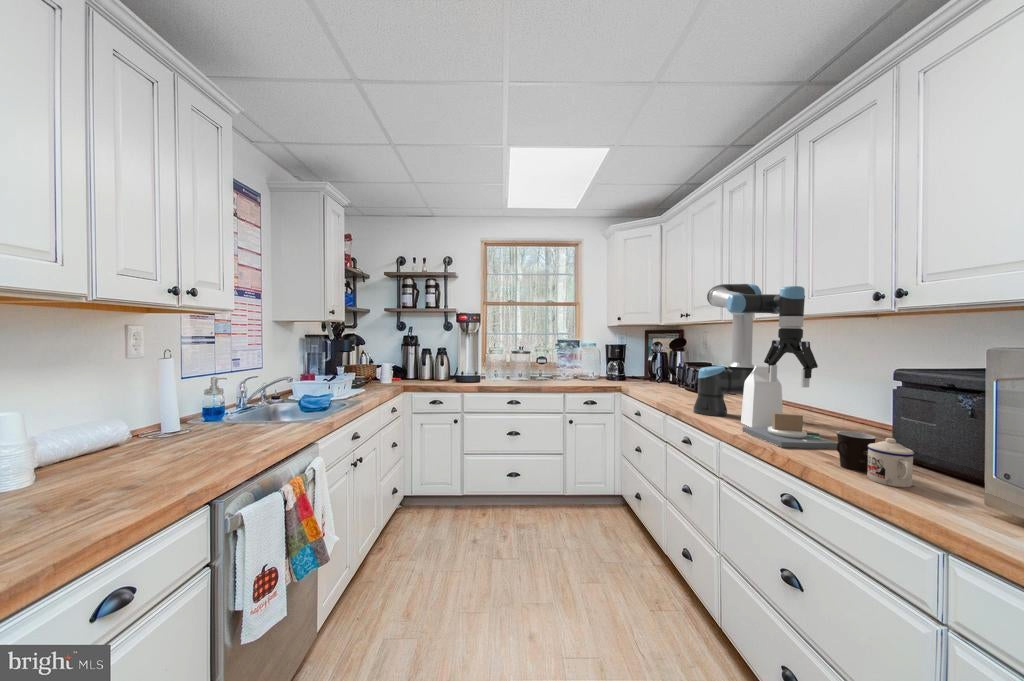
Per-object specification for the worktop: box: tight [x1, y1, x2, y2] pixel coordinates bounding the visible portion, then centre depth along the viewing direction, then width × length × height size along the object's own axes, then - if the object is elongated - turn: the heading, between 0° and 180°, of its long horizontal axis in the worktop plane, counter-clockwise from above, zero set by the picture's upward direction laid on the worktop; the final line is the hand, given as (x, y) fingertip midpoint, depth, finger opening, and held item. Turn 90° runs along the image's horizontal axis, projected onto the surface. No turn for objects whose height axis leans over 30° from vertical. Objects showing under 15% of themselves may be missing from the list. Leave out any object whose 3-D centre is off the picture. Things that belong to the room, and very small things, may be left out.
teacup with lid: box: [866, 437, 915, 488], centre depth 103 cm, size 12×9×12 cm
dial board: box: [742, 426, 838, 449], centre depth 146 cm, size 22×20×2 cm
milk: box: [740, 365, 784, 427], centre depth 168 cm, size 12×12×26 cm
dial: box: [768, 412, 820, 438], centre depth 145 cm, size 16×12×8 cm
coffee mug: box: [836, 430, 877, 473], centre depth 115 cm, size 12×9×10 cm
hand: (788, 384), depth 146 cm, fingers open, 13 cm apart
